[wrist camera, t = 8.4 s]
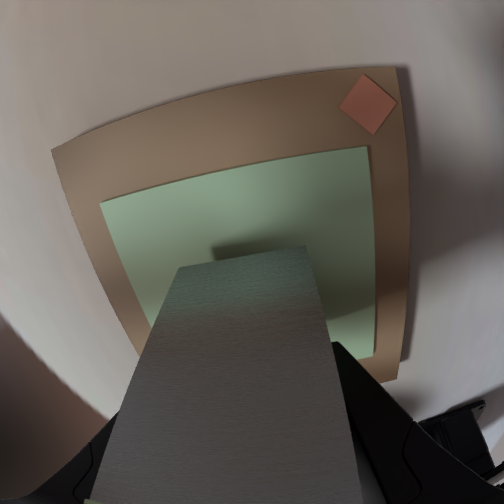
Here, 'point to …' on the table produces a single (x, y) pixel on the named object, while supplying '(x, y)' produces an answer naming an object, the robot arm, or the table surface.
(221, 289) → the column
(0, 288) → the table surface
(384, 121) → the stand plate
